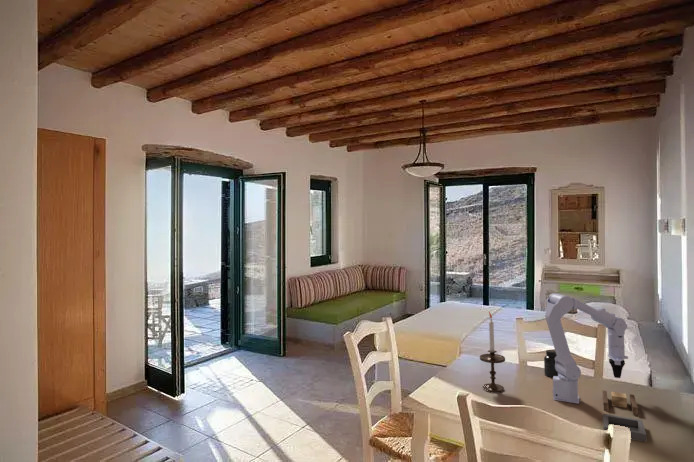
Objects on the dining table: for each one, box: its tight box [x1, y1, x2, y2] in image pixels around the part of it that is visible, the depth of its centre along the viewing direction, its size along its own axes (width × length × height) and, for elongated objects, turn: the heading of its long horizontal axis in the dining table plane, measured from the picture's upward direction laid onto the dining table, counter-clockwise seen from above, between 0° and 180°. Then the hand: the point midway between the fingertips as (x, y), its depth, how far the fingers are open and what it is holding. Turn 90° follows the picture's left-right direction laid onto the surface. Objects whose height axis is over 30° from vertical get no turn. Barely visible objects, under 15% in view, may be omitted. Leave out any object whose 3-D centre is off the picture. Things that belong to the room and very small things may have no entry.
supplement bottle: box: [543, 349, 558, 379], centre depth 203 cm, size 7×7×12 cm
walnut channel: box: [602, 390, 639, 417], centre depth 167 cm, size 11×14×3 cm
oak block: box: [610, 391, 628, 408], centre depth 168 cm, size 5×5×4 cm
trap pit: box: [602, 413, 648, 443], centre depth 147 cm, size 12×12×2 cm
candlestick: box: [479, 311, 506, 393], centre depth 188 cm, size 11×11×35 cm
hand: (617, 377), depth 175 cm, fingers closed
